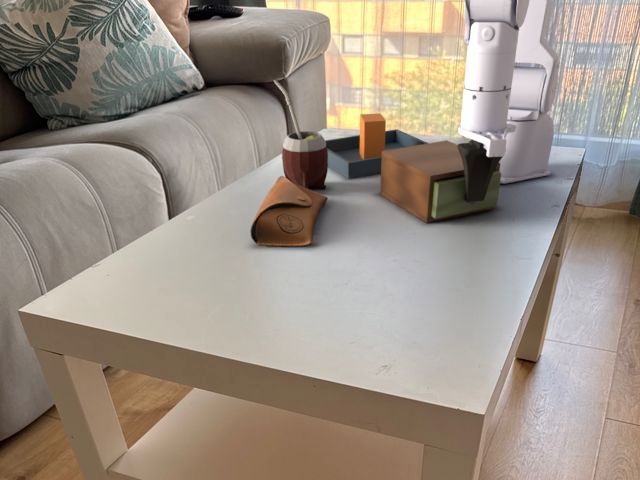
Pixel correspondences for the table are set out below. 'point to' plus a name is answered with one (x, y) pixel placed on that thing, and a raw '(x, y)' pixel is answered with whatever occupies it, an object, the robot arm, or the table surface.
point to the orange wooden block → (372, 135)
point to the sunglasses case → (287, 215)
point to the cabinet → (420, 176)
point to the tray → (348, 156)
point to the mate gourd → (304, 155)
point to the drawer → (461, 196)
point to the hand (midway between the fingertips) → (474, 199)
